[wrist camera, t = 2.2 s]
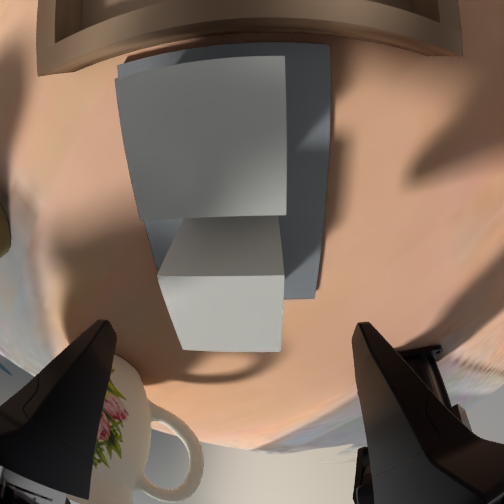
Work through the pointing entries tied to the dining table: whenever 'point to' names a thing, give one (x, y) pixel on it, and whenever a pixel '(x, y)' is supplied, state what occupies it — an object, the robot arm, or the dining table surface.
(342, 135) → the dining table surface
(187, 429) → the pitcher
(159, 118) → the gray cube
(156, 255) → the slate mat
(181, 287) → the gray cube
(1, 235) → the cork
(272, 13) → the walnut bin
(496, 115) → the dining table surface
